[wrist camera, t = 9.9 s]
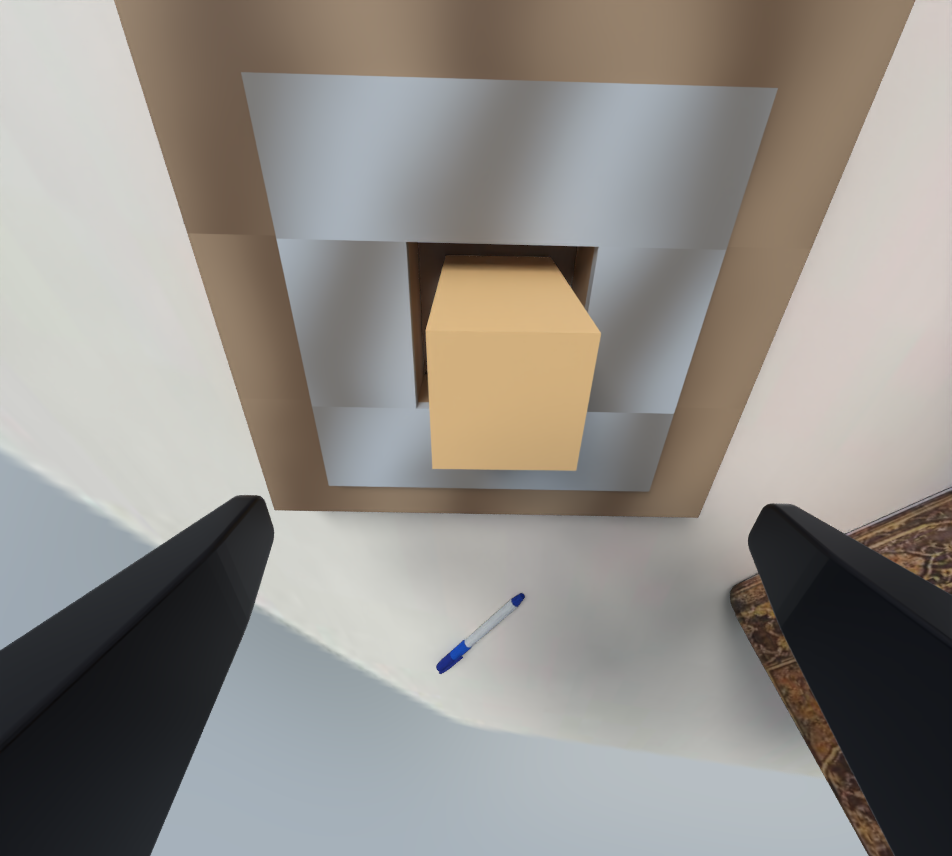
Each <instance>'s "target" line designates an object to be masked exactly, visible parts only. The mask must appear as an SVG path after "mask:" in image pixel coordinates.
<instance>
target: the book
mask: <svg viewBox="0 0 952 856" xmlns="http://www.w3.org/2000/svg"><path fill="white" fill-rule="evenodd" d="M846 535H848V536H849V537H851V538H853V539H855V540H856V541H858V542H860V543H862V544H863V545H865V546H867V547H869V548H870V549H872V550H874V551H876V552H877V553H879V554H881V555H883V556H884V557H886V558H888V559H890V560H892V561H893V562H895V563H897V564H899V565H900V566H902V567H904V568H906V569H907V570H909V571H911V572H913V573H914V574H916V575H918V576H920V577H921V578H923V579H925V580H927V581H928V582H930V583H932V584H934V585H935V586H937V587H939V588H941V589H942V590H944V591H946V592H948V593H949V594H951V595H952V487H951V488H949V489H946V490H944V491H942V492H940V493H937V494H935V495H933V496H931V497H928V498H926V499H924V500H922V501H919V502H917V503H915V504H913V505H910V506H908V507H906V508H904V509H901V510H899V511H897V512H894V513H892V514H890V515H888V516H885V517H883V518H881V519H879V520H876V521H874V522H872V523H870V524H867V525H865V526H863V527H861V528H858V529H856V530H854V531H851V532H849V533H847V534H846ZM730 601H731V604H732V607H733V609H734V611H735V614H736V617H737V619H738V621H739V623H740V625H741V626H742V628H743V630H744V632H745V634H746V636H747V638H748V639H749V641H750V643H751V645H752V647H753V648H754V650H755V652H756V654H757V656H758V657H759V659H760V661H761V663H762V665H763V666H764V668H765V670H766V672H767V674H768V675H769V677H770V679H771V681H772V683H773V684H774V686H775V688H776V690H777V692H778V693H779V695H780V697H781V699H782V701H783V702H784V704H785V706H786V708H787V710H788V711H789V713H790V715H791V717H792V719H793V720H794V722H795V724H796V726H797V728H798V729H799V731H800V733H801V735H802V737H803V738H804V740H805V742H806V744H807V746H808V747H809V749H810V751H811V753H812V755H813V756H814V758H815V760H816V762H817V764H818V765H819V767H820V769H821V771H822V773H823V774H824V776H825V778H826V780H827V782H828V783H829V785H830V787H831V789H832V791H833V792H834V794H835V796H836V798H837V800H838V801H839V803H840V805H841V807H842V808H843V810H844V812H845V814H846V816H847V818H848V819H849V821H850V823H851V825H852V827H853V828H854V830H855V832H856V834H857V835H858V837H859V839H860V841H861V843H862V845H863V846H864V848H865V850H866V851H867V854H868V855H869V856H894V854H893V852H892V850H891V848H890V846H889V844H888V842H887V840H886V838H885V836H884V834H883V833H882V831H881V829H880V827H879V825H878V823H877V821H876V819H875V817H874V815H873V813H872V811H871V809H870V807H869V805H868V803H867V801H866V799H865V797H864V795H863V793H862V791H861V789H860V787H859V785H858V783H857V781H856V779H855V777H854V775H853V773H852V771H851V769H850V767H849V765H848V763H847V761H846V759H845V757H844V755H843V753H842V751H841V749H840V747H839V745H838V743H837V741H836V739H835V737H834V735H833V733H832V731H831V729H830V727H829V725H828V723H827V721H826V719H825V717H824V715H823V713H822V711H821V709H820V707H819V705H818V703H817V701H816V699H815V697H814V695H813V693H812V691H811V689H810V687H809V685H808V683H807V681H806V679H805V677H804V675H803V673H802V671H801V669H800V667H799V665H798V663H797V661H796V659H795V658H794V656H793V654H792V652H791V650H790V648H789V646H788V644H787V642H786V639H785V637H784V635H783V633H782V631H781V629H780V627H779V624H778V622H777V619H776V617H775V615H774V612H773V609H772V607H771V604H770V602H769V599H768V596H767V594H766V591H765V589H764V586H763V583H762V581H761V578H760V576H759V574H757V575H755V576H753V577H751V578H749V579H747V580H745V581H743V582H741V583H739V584H737V585H735V586H734V587H733V588H732V590H731V592H730Z"/></svg>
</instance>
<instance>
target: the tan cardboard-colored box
mask: <svg viewBox="0 0 952 856" xmlns="http://www.w3.org/2000/svg"><path fill="white" fill-rule="evenodd" d="M600 337H601V332H600V331H599V329H598V328H597V326H596V325H595V323H594V322H593V320H592V319H591V317H590V316H589V314H588V313H587V311H586V310H585V308H584V307H583V305H582V304H581V302H580V301H579V299H578V298H577V296H576V295H575V293H574V292H573V290H572V289H571V287H570V286H569V284H568V283H567V281H566V280H565V278H564V277H563V275H562V274H561V272H560V270H559V269H558V267H557V266H556V264H555V263H554V261H553V260H552V258H551V257H525V256H466V255H446V256H445V260H444V264H443V267H442V271H441V275H440V279H439V282H438V286H437V290H436V294H435V297H434V301H433V305H432V308H431V312H430V316H429V320H428V323H427V327H426V350H427V370H428V390H429V410H430V431H431V451H432V469H481V470H562V471H576V469H577V463H578V458H579V452H580V447H581V441H582V436H583V430H584V425H585V419H586V414H587V408H588V403H589V397H590V392H591V386H592V381H593V375H594V370H595V364H596V359H597V353H598V348H599V342H600Z"/></svg>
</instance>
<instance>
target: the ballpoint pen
mask: <svg viewBox="0 0 952 856" xmlns="http://www.w3.org/2000/svg"><path fill="white" fill-rule="evenodd" d="M524 598H525V596H524V594H522V593H520V594H519V595H517V596H515V597H514V598H512V599H511V600H510V601H509V602H507V603H506V604H505V605H504V606H503V607H502V608H501V609H499V610H498V611H497V612H496V613H495V614H494V615H493V616H492V617H490V618H489V619H488V620H487V621H486V622H485V623H484V624H482V625H481V626H480V627H479V628H478V629H477V630H476V631H475V632H473V633H472V634H471V635H470V636H469V637H468V638H467V639H466V640H463V641H462V642H461V643H460V644H459V645H458V646H457V647H455V648H454V649H453V650H452V651H451V652H450V653H449V654H447V655H446V656H445V657H444V658H443V659H442V660H441V661H440V662H439V663H438V664H437V666H436V668H437V670H438V671H439V674H442V673H444V672H446V671H447V670H449V669H450V668H451V667H452V666H454V665H455V664H456V663H457V662H458V661H460V660H461V659H462V658H463V657H462V655H463V654H465V653H466V652H467V651H468V650H469V649H470V648H471V647H472V646H473V645H474V644H475V643H476V642H477V641H478V640H480V639H481V638H482V637H483V636H484V635H485V634H487V633H488V632H489V631H490V630H491V629H492V628H494V627H495V626H496V625H497V624H498V623H499V622H501V621H502V620H503V619H504V618H505V617H506V616H508V615H509V614H510V613H511V612H512V611H513V610H515V609H516V608H517V607H518V606H519V605H520V603H521V602H522V601H523V599H524Z"/></svg>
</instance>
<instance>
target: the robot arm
mask: <svg viewBox="0 0 952 856" xmlns="http://www.w3.org/2000/svg"><path fill="white" fill-rule="evenodd" d="M273 540H274V528H273V524H272V521H271V518H270V515H269V512H268V509H267V506H266V503H265V501H264V499H263V498H262V497H261V496H257V495H239V496H235V497H234V498H232V499H230V500H229V501H227V502H226V503H224V504H223V505H221V506H220V507H218V508H217V509H215V510H214V511H212V512H211V513H209V514H208V515H206V516H205V517H203V518H201V519H200V520H198V521H197V522H195V523H194V524H192V525H191V526H189V527H188V528H186V529H185V530H183V531H182V532H180V533H179V534H177V535H176V536H174V537H172V538H171V539H169V540H168V541H166V542H165V543H163V544H162V545H160V546H159V547H157V548H156V549H154V550H153V551H151V552H150V553H148V554H147V555H145V556H144V557H142V558H140V559H139V560H137V561H136V562H134V563H133V564H131V565H130V566H128V567H127V568H125V569H124V570H122V571H121V572H119V573H118V574H116V575H115V576H113V577H112V578H110V579H109V580H107V581H105V582H104V583H103V584H101V585H99V586H98V587H96V588H95V589H93V590H92V591H90V592H89V593H87V594H86V595H84V596H83V597H82V598H80V599H78V600H77V601H75V602H73V603H72V604H70V605H69V606H67V607H66V608H65V609H63V610H61V611H60V612H58V613H57V614H55V615H54V616H52V617H51V618H49V619H47V620H46V621H44V622H43V623H41V624H40V625H38V626H37V627H35V628H34V629H32V630H31V631H29V632H28V633H26V634H25V635H23V636H22V637H20V638H18V639H17V640H15V641H14V642H12V643H11V644H9V645H8V646H6V647H5V648H3V649H2V650H0V856H150V855H151V853H152V850H153V848H154V845H155V843H156V841H157V838H158V836H159V833H160V831H161V829H162V826H163V824H164V822H165V819H166V817H167V815H168V812H169V810H170V808H171V805H172V803H173V800H174V798H175V796H176V793H177V791H178V789H179V786H180V784H181V781H182V779H183V777H184V774H185V772H186V770H187V767H188V765H189V763H190V760H191V758H192V755H193V753H194V751H195V748H196V746H197V744H198V741H199V739H200V737H201V734H202V732H203V729H204V727H205V725H206V722H207V720H208V718H209V715H210V713H211V710H212V708H213V706H214V703H215V701H216V699H217V696H218V694H219V692H220V689H221V687H222V684H223V682H224V680H225V677H226V675H227V672H228V670H229V668H230V665H231V663H232V661H233V658H234V656H235V654H236V651H237V649H238V647H239V644H240V642H241V640H242V637H243V635H244V632H245V630H246V627H247V624H248V622H249V619H250V616H251V613H252V610H253V607H254V603H255V600H256V597H257V594H258V590H259V587H260V584H261V580H262V577H263V574H264V570H265V567H266V564H267V560H268V557H269V554H270V550H271V547H272V544H273ZM748 545H749V550H750V552H751V555H752V557H753V560H754V563H755V565H756V568H757V570H758V573H759V576H760V578H761V581H762V583H763V586H764V589H765V591H766V594H767V596H768V599H769V602H770V604H771V607H772V609H773V612H774V615H775V617H776V619H777V622H778V624H779V627H780V629H781V631H782V633H783V635H784V637H785V639H786V642H787V644H788V646H789V648H790V650H791V652H792V654H793V656H794V658H795V659H796V661H797V663H798V665H799V667H800V669H801V671H802V673H803V675H804V677H805V679H806V681H807V683H808V685H809V687H810V689H811V691H812V693H813V695H814V697H815V699H816V701H817V703H818V705H819V707H820V709H821V711H822V713H823V715H824V717H825V719H826V721H827V723H828V725H829V727H830V729H831V731H832V733H833V735H834V737H835V739H836V741H837V743H838V745H839V747H840V749H841V751H842V753H843V755H844V757H845V759H846V761H847V763H848V765H849V767H850V769H851V771H852V773H853V775H854V777H855V779H856V781H857V783H858V785H859V787H860V789H861V791H862V793H863V795H864V797H865V799H866V801H867V803H868V805H869V807H870V809H871V811H872V813H873V815H874V817H875V819H876V821H877V823H878V825H879V827H880V829H881V831H882V833H883V834H884V836H885V838H886V840H887V842H888V844H889V846H890V848H891V850H892V852H893V854H894V856H952V595H951V594H949V593H948V592H946V591H944V590H942V589H941V588H939V587H937V586H935V585H934V584H932V583H930V582H928V581H927V580H925V579H923V578H921V577H920V576H918V575H916V574H914V573H913V572H911V571H909V570H907V569H906V568H904V567H902V566H900V565H899V564H897V563H895V562H893V561H892V560H890V559H888V558H886V557H884V556H883V555H881V554H879V553H877V552H876V551H874V550H872V549H870V548H869V547H867V546H865V545H863V544H862V543H860V542H858V541H856V540H855V539H853V538H851V537H849V536H848V535H846V534H844V533H842V532H841V531H839V530H837V529H835V528H834V527H832V526H830V525H828V524H827V523H825V522H823V521H821V520H819V519H818V518H816V517H814V516H812V515H811V514H809V513H807V512H805V511H804V510H802V509H800V508H798V507H797V506H795V505H792V504H767V505H766V506H765V507H763V509H762V510H761V512H760V514H759V516H758V518H757V520H756V522H755V524H754V526H753V528H752V530H751V532H750V534H749V537H748Z"/></svg>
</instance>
